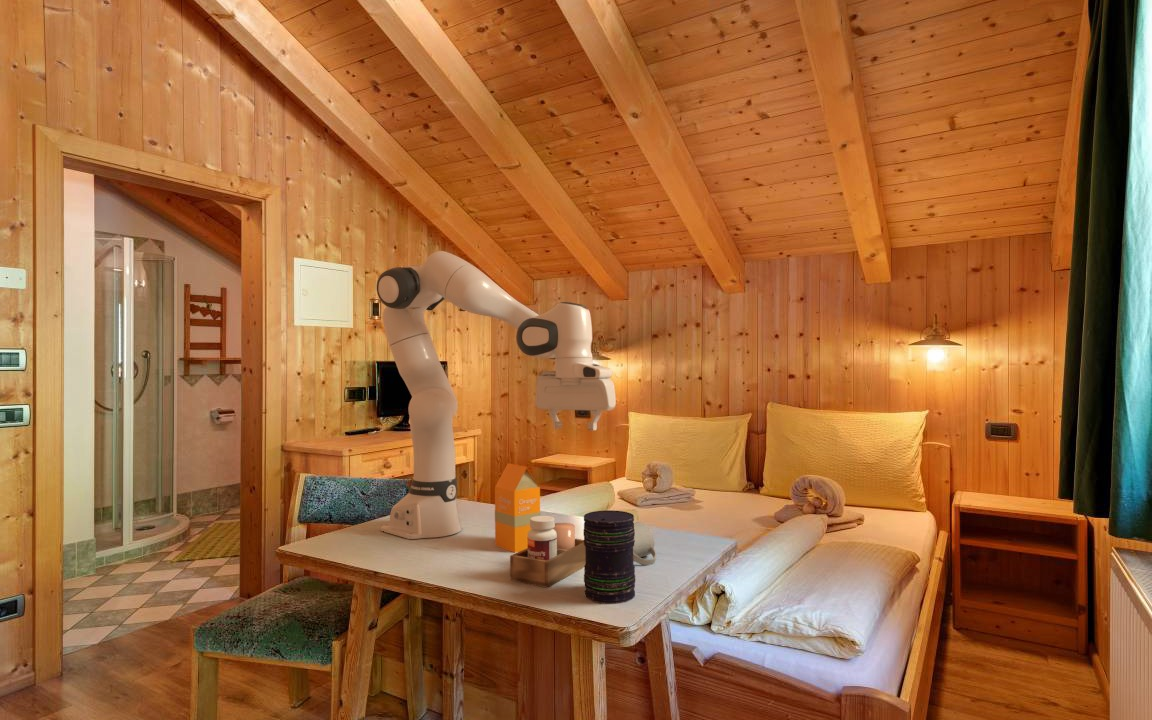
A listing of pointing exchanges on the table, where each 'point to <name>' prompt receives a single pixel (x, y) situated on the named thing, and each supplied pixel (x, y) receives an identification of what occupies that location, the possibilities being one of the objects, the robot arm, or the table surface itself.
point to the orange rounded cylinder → (565, 535)
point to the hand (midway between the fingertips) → (574, 429)
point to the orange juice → (515, 507)
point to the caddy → (547, 566)
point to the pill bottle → (542, 538)
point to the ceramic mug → (643, 544)
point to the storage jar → (609, 556)
